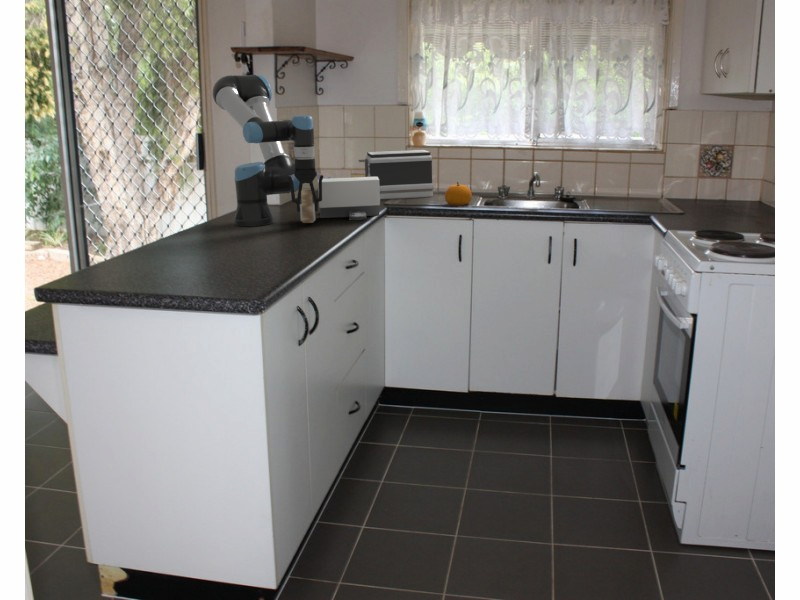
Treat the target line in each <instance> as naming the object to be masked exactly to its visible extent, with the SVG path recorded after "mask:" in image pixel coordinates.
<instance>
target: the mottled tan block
mask: <svg viewBox="0 0 800 600" xmlns="http://www.w3.org/2000/svg"><path fill="white" fill-rule="evenodd" d="M300 201H301V203H302V218H303V221H302V224H312V223H314V222H315V221H313V204H312V203H314V199H313V195H312V191H311V189H302V191H301V199H300Z"/></svg>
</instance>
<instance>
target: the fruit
mask: <svg viewBox="0 0 800 600" xmlns="http://www.w3.org/2000/svg"><path fill="white" fill-rule="evenodd" d="M472 195H473V194H472V191H471V189H470V187H468V186H467V185H464V184H459V181H457V183H456V184H451V185H450V186H449V187H448V188H447V189H446V190H445V193H444V200H445V202H446V203H447V204H448V205H451V206H457V207H458V206H466V205H468V204H469V203H470V202H471V200H472V197H473V196H472Z"/></svg>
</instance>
